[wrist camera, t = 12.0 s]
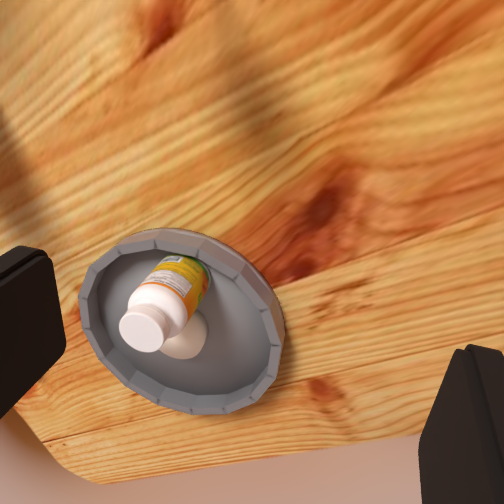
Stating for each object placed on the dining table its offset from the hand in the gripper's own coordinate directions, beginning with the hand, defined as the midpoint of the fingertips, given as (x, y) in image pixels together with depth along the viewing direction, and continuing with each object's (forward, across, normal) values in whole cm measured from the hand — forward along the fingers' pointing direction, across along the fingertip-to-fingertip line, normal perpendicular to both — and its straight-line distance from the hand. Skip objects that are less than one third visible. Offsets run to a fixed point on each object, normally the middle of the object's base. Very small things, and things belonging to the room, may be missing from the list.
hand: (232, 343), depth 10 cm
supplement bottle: (+27, +12, +17) cm, 34 cm away
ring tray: (+28, +13, +23) cm, 38 cm away
